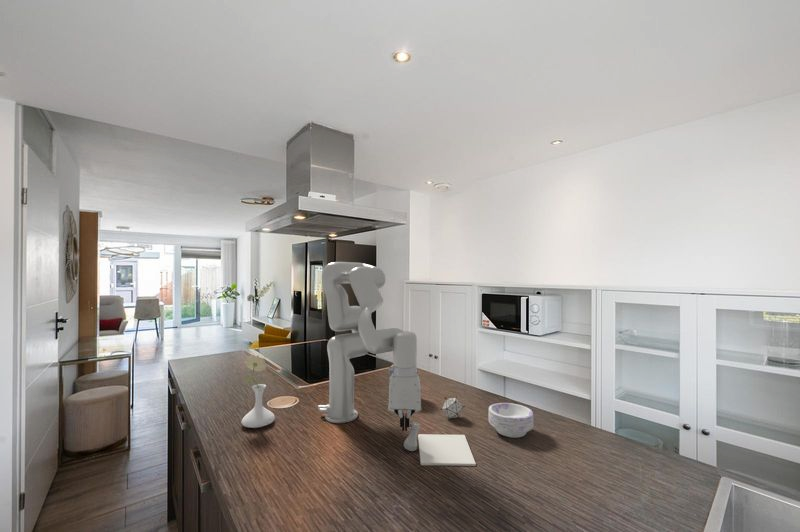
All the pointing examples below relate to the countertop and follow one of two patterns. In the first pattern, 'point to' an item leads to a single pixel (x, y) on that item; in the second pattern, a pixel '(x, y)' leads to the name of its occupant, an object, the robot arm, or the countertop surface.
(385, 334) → the robot arm
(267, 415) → the flower in vase
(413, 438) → the rook chess piece
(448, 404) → the game die
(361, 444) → the countertop surface
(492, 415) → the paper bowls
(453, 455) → the mat
